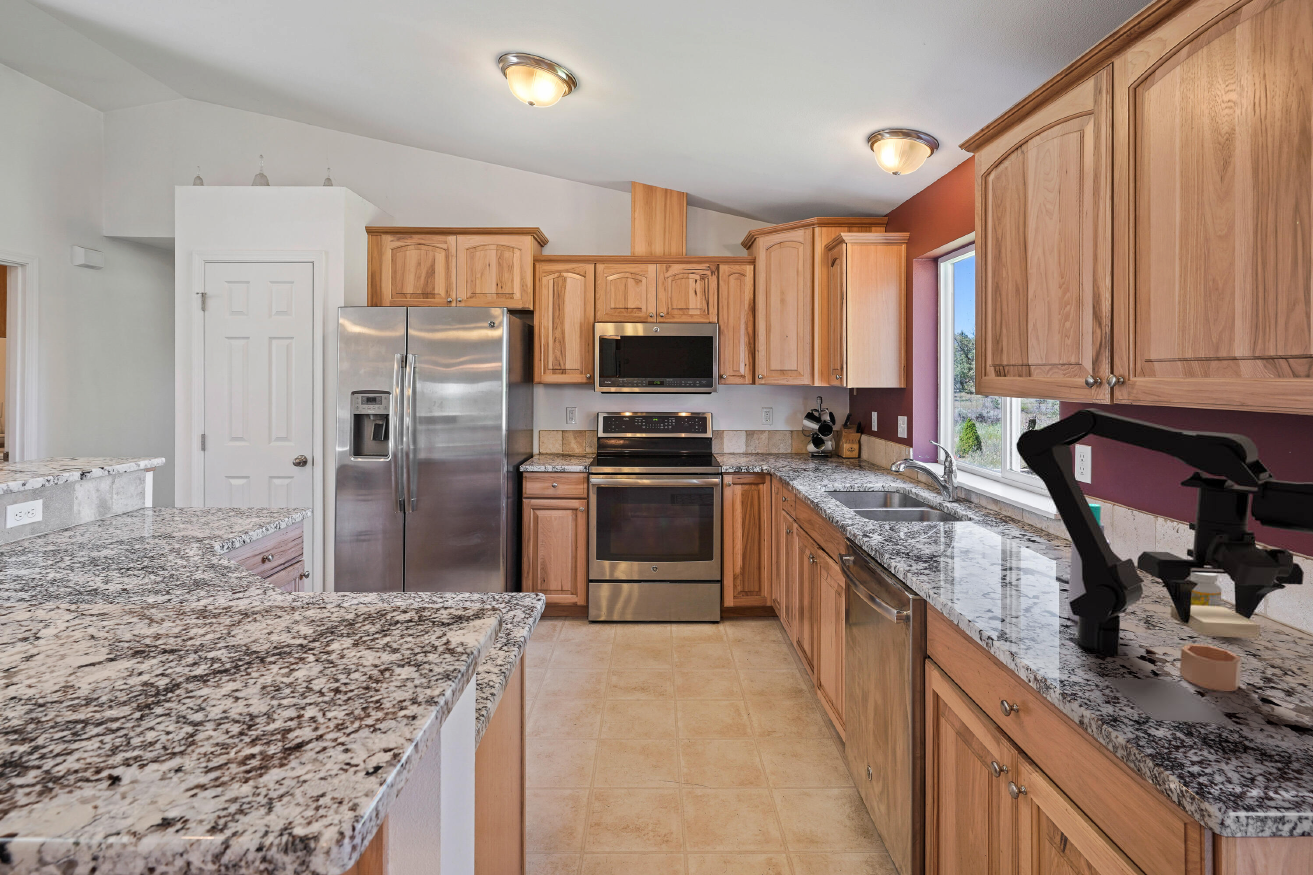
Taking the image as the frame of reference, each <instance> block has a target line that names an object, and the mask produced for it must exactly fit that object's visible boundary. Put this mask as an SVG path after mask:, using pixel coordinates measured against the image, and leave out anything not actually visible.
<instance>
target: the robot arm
mask: <svg viewBox="0 0 1313 875" xmlns="http://www.w3.org/2000/svg"><path fill="white" fill-rule="evenodd" d="M1091 435H1092V436H1097V437H1101V438H1103V439H1104V438H1105V439H1109V440H1112V441H1116V442H1121V443H1122V444H1123V443H1124V444H1128V445H1132V446H1135V447H1139V448H1142V449H1143V448H1144V449H1145V450H1146V449H1147V450H1151V451H1154V452H1159V453H1162V454H1165V455H1168V456H1170V457H1173V458H1175V459H1177V460H1179V461H1180V462H1182V463H1184V464H1186V465H1187V466H1190V467H1192V468H1195V469H1196V471H1194V472H1193V473H1192V475H1190V476H1189V477H1188V478H1186V479H1184V480H1182V481H1181V482H1180V486H1182V487H1184V488H1186V487H1188V488H1195V489H1197V500H1196V512H1195V513H1196V514H1195V522H1192V521H1191V522H1190V521H1189V522H1188V525H1189V526H1188V529H1189V530H1191V531H1194V537H1193V547H1192V548H1186V549H1187V550H1186V556H1188V557H1190V558H1189V559H1186V558H1183V557H1180V556H1178V555H1176V554H1174V553H1171V552H1169V551H1148V550H1147V551H1143V552H1142V553H1140V555H1138V557H1137V565H1136V566H1135V563H1134V561H1133V558H1131V557H1129V558H1127V559H1124V560H1122V558H1120V557H1119V556H1118V555H1117V553H1115V552H1114V551H1113V550H1112V548H1111V545H1110V546H1109V544H1108V542H1107V540H1108V539H1107V538H1106V536H1105V533H1104V534H1103V532H1102V530H1101V528H1100V526H1099V524H1098V522H1097V520H1096V518H1095V516H1094V514H1093V512H1092V510H1091V508H1090V506H1089V504H1090V503H1089V502H1088V499H1087V498H1086V496H1085V494H1084V492H1083V491H1082V488H1081V486H1080V484H1079V482H1078V480H1077V479H1076V476H1075V473H1074V468H1073V465H1074V464H1073V463H1074V461H1073V452H1072V450H1071V447H1072V446H1073V445H1075V444H1077V443H1079V442H1081V441H1083V440H1084V439H1086V438H1087V437H1089V436H1091ZM1017 440H1018V441H1017V442H1016V443H1015V445H1016V449H1017V450H1016V451H1017V453H1018V455H1019V457H1021V459H1022V461H1023V462H1024V463H1025V465H1026V466H1027V468H1028V469H1029V470H1031V471H1032V472H1033V473H1034V475H1035V476H1037V477H1038V478H1039V479H1040V480H1042V482H1043V483H1044V485H1045V487H1046V489H1047V492H1048V493H1049V495H1050V498H1051V500H1052V502H1053V504H1054V506H1055V509H1056V511H1057V512H1058V514H1059V516H1060V518H1061V520H1062V523H1063V525H1064V527H1065V529H1066V531H1067V533H1068V535H1069V537H1070V539H1071V540H1072V541H1073V543H1074V545H1075V548H1076V550H1077V552H1078V554H1079V556H1080V558H1081V562H1082V581H1083V584H1084V588H1085V591H1086V593H1084V594H1083V595H1081V596H1079V597H1077V598H1076V599H1074V600H1072V601H1071V602H1070V603H1069V604H1070V607H1071V610H1072V613H1073V615H1076V616H1079V619H1078V622H1077V623H1078V624H1077V636H1076V637H1071V636H1070V637H1068V638H1067V641H1068V642H1071V643H1072V644H1073V645H1075V646H1076V647H1077V648H1078V649H1079V650H1081V651H1082V652H1083V653H1085V654H1088V655H1101V656H1102V655H1103V656H1122V657H1128V656H1129V653H1127V652H1126V651H1125V650H1123V649H1122V648H1121V647H1119V646H1120V629H1121V628H1120V627H1121V615H1120V614H1124V613H1126V612H1127V610H1128V608H1129V607H1131V606H1133V605H1135V604H1137V603H1138V602H1139V601H1140V600H1141V598H1142V596H1143V594H1144V593H1143V592H1144V589H1143V585H1142V584H1144V582H1145V580H1144V579H1143V578H1142V577H1141V576H1140V575H1139V573H1138V571H1137V569H1138V570H1140V571H1142V572H1144V573H1146V574H1148V575H1150V576H1152V577H1154V578H1157V579H1158V580H1160V581H1161V582H1162V584H1163V586H1164V587H1165V589H1166V590H1167V591H1166V592H1167V593H1168V594H1169V596H1170V598H1171V601H1172V603H1173V604H1174V606H1175V608H1176V610H1177V613H1178V615H1179V617H1180V619H1181V621H1182V622H1184V623H1189V618H1190V611H1191V593H1192V590H1193V589H1194V588H1195V587H1196V586H1197V585H1198V583H1196V582H1194V581H1192V580H1191V573H1216V574H1224V575H1226V574H1227V576H1228V577H1229V578H1230V580H1231V581H1232V582H1233V583H1234V584H1233V585H1234V612H1235V613H1237V614H1239V615H1242V616H1244V617H1246V618H1248V619H1250V620H1251V617H1252V616H1253V614H1254V613H1255V611H1256V610H1257V608H1258V606H1259V605H1260V603H1261V602H1262V601H1263V599H1264V598H1265V597H1266V596H1267V595H1268V594H1270V593H1273V592H1275V591H1277V590H1284V589H1285V588H1286V587H1287V586H1286V585H1300V586H1302V585H1303V584H1304V577H1305V575H1304V574H1305V572H1304V571H1303V569H1302V566H1300V564H1299V563H1297V562H1294V554H1293V553H1292V552H1290V551H1289V550H1288V549H1286V548H1270V549H1267V548H1259V547H1258V546H1257V545H1256V536H1255V532H1254V531H1250V530H1248V525H1249V523H1248V522H1249V514H1251V517H1252V519H1254V521H1256V522H1259V523H1260V525H1261V527H1263V528H1264V527H1265V528H1271V529H1276V530H1277V529H1279V530H1285V531H1293V532H1299V533H1307V534H1313V481H1307V482H1300V481H1299V482H1297V481H1287V480H1279V479H1278V480H1277V479H1276V477H1275V476H1274V475H1273V474H1272V473H1271V472H1270V470H1269V469H1268V468H1267V467H1266V465H1265V464H1264V463H1263V462H1262V461H1261V460H1260V458H1259V451H1258V447H1257V445H1256V444H1255V443H1254V442H1253V440H1252V439H1251V438H1249V437H1248V436H1245V435H1243V434H1239V433H1238V434H1236V433H1228V432H1227V433H1226V432H1214V431H1199V430H1198V431H1197V430H1185V429H1178V428H1173V427H1170V426H1166V425H1161V424H1156V423H1152V422H1148V421H1144V420H1140V419H1137V418H1136V419H1135V418H1131V417H1126V416H1122V415H1118V414H1115V413H1109V412H1105V411H1102V410H1101V409H1098V408H1085V409H1084V408H1083V409H1079V410H1077V411H1075V412H1074V413H1073V414H1071V415H1069V416H1067V417H1065V418H1062V419H1059V420H1057V421H1056V422H1053V423H1050V424H1049V425H1046V426H1044V427H1042V428H1032V429H1029V430H1026V431H1024V432H1022V434H1021V435H1020V436H1019V437H1018V439H1017ZM1205 473H1206V474H1205ZM1207 474H1209V475H1211V476H1209V475H1207ZM1214 476H1215V477H1214ZM1251 495H1252V498H1251ZM1250 499H1251V500H1250ZM1250 501H1251V503H1250ZM1250 504H1251V505H1250ZM1249 511H1250V512H1249Z"/></svg>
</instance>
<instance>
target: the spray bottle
mask: <svg viewBox="0 0 1313 875" xmlns="http://www.w3.org/2000/svg"><path fill="white" fill-rule="evenodd" d="M1088 504H1089V506H1090V508H1091V510H1092V512H1093V514H1094V516H1095V518H1096V520H1097V522H1098V524H1099V526H1100V528H1101V530H1102V532H1103V534H1104V535H1105V524H1104V523H1101V513H1102V512H1101V511H1102V510H1101V508H1102V506H1101V504H1096V503H1088ZM1106 540H1107V542H1108V544H1109V546H1110V547H1111V541H1110V540H1109V539H1106ZM1069 562H1070V563H1069V577H1068V580H1069V581H1068V595H1067V597H1068V599H1067V616H1068V618H1070V619H1071V620H1073V621H1074V622H1077V623H1078V619H1079V616H1076V615H1073V613H1072V610H1071V607H1070V604H1069V603H1070V602H1071V601H1072V600H1074V599H1076V598H1077V597H1079V596H1081V595H1083V594H1084V593H1086V591H1085V588H1084V584H1083V581H1082V562H1081V558H1080V556H1079V554H1078V552H1077V550H1076V548H1075V545H1074V543H1073V541H1072V539H1071V544H1070V560H1069Z"/></svg>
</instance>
